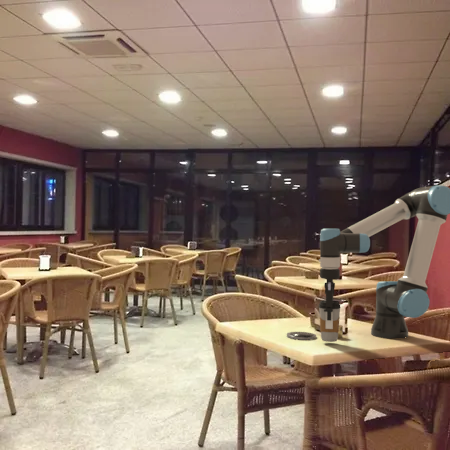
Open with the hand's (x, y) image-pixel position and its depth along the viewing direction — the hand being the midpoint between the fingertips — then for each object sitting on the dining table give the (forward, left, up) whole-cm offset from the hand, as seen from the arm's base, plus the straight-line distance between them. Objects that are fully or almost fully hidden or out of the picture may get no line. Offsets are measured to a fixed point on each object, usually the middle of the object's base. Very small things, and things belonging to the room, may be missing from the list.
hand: (329, 326), depth 205 cm
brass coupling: (-3, -14, -7) cm, 16 cm away
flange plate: (+11, -10, -7) cm, 17 cm away
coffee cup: (0, 0, -6) cm, 6 cm away
